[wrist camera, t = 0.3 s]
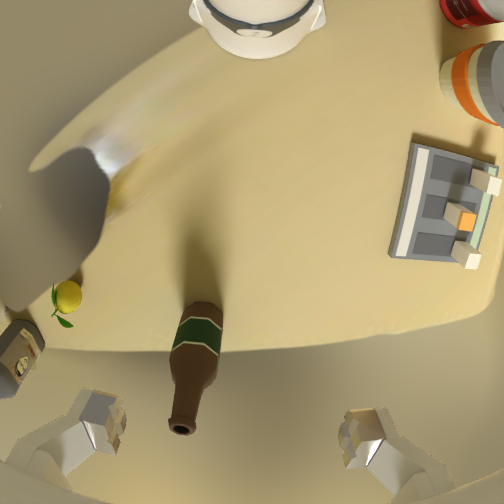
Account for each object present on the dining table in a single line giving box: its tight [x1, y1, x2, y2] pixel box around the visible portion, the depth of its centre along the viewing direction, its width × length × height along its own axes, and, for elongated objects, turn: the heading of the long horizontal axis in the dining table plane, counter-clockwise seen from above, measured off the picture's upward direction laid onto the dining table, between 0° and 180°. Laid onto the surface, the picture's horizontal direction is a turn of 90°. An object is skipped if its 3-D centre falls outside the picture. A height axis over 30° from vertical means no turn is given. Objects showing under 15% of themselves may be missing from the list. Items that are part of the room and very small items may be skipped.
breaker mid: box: [443, 202, 477, 232], centre depth 42 cm, size 3×3×5 cm
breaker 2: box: [470, 169, 502, 196], centre depth 40 cm, size 3×3×5 cm
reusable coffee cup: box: [439, 41, 504, 128], centre depth 30 cm, size 13×13×15 cm
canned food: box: [440, 0, 504, 28], centre depth 26 cm, size 8×8×11 cm
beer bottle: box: [168, 302, 223, 435], centre depth 46 cm, size 8×8×24 cm
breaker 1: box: [451, 241, 482, 269], centre depth 45 cm, size 3×3×5 cm
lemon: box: [51, 280, 82, 328], centre depth 50 cm, size 7×6×10 cm
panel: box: [388, 142, 499, 263], centre depth 46 cm, size 19×19×2 cm
